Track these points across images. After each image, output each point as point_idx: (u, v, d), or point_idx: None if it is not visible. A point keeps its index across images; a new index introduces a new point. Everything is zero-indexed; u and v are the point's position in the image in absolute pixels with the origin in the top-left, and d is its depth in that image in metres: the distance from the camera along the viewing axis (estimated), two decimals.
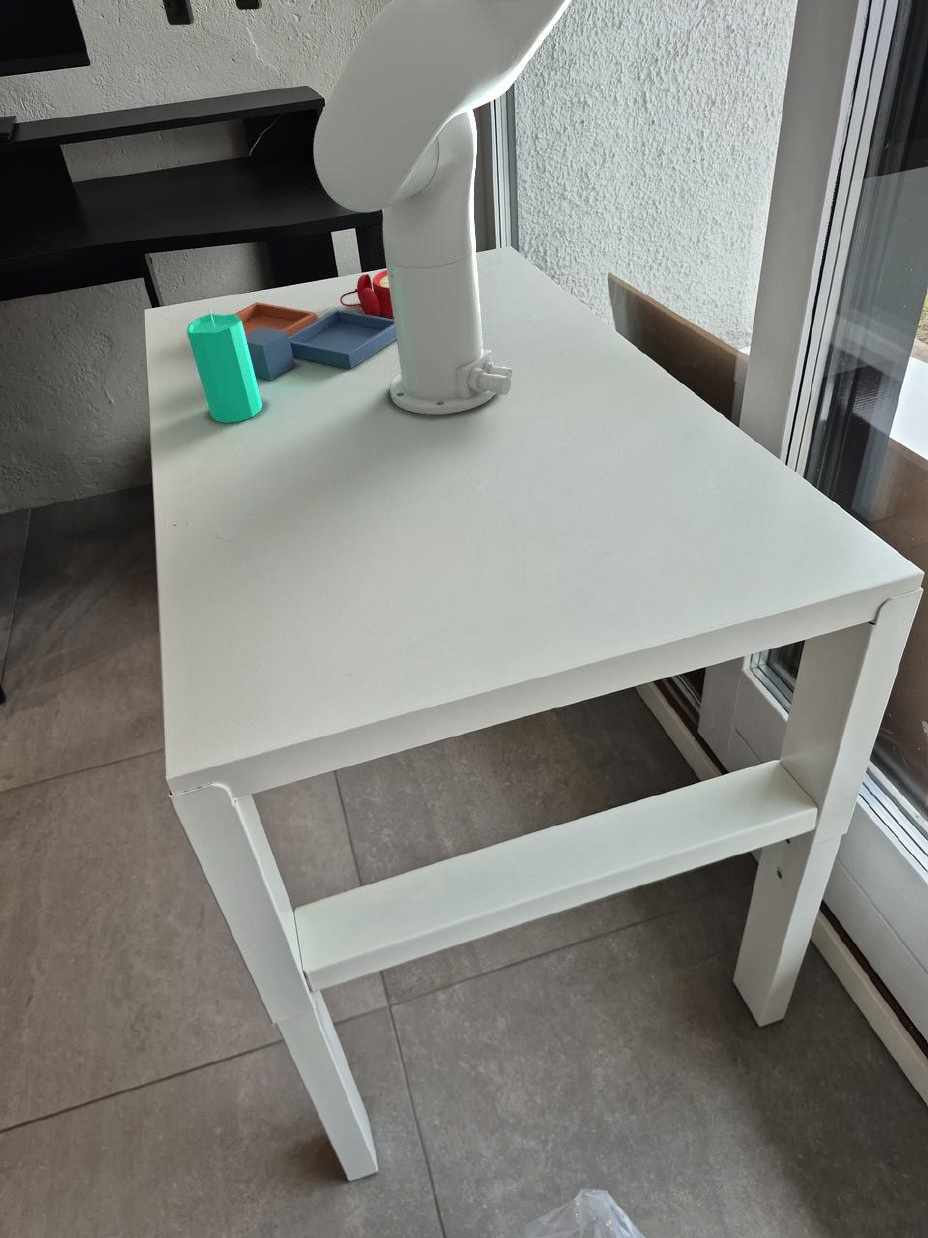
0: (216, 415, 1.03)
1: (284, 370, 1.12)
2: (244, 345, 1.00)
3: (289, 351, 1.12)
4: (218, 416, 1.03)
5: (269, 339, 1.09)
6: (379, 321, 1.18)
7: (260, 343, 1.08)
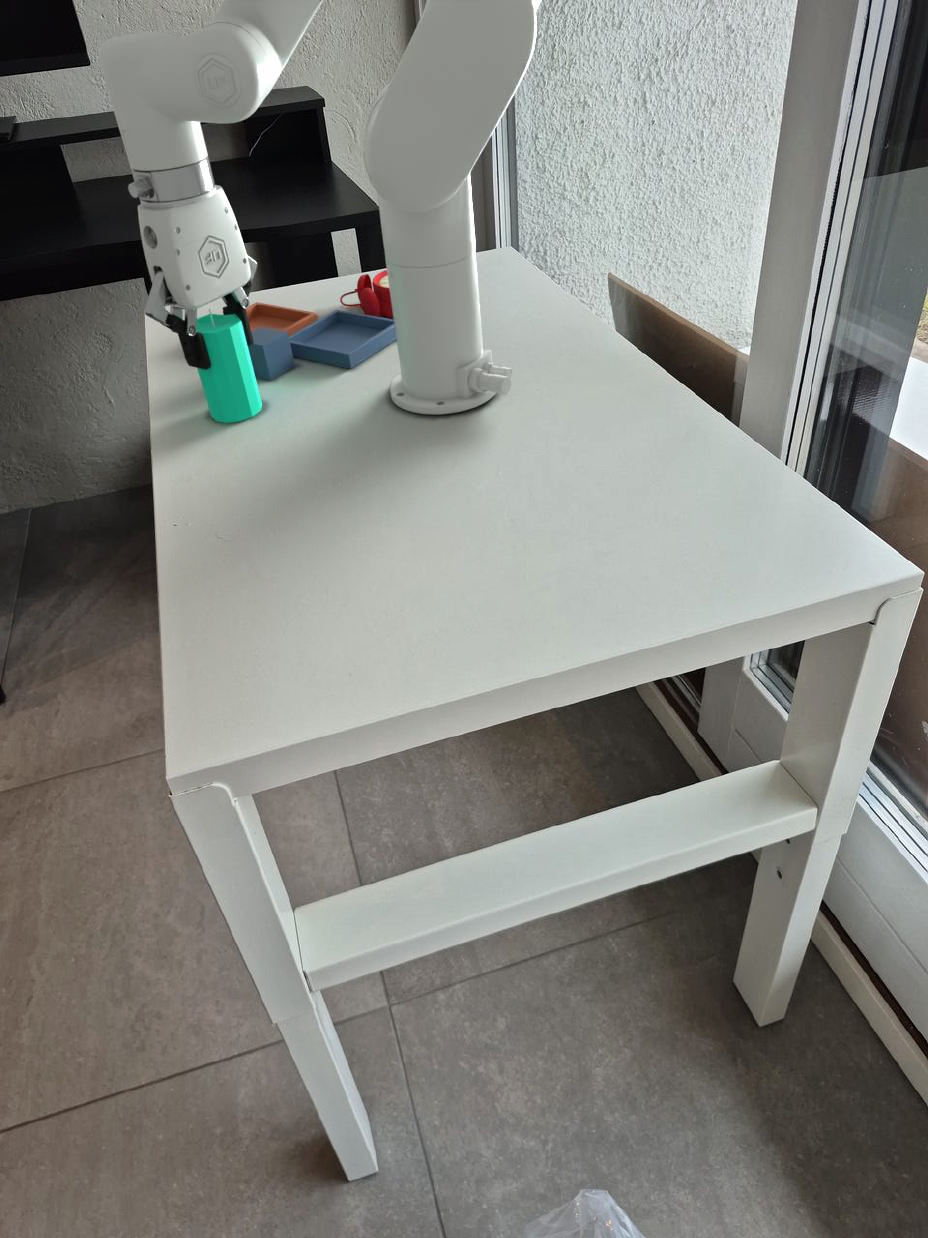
0: (216, 415, 1.03)
1: (284, 370, 1.12)
2: (244, 345, 1.00)
3: (289, 351, 1.12)
4: (218, 416, 1.03)
5: (269, 339, 1.09)
6: (379, 321, 1.18)
7: (260, 343, 1.08)
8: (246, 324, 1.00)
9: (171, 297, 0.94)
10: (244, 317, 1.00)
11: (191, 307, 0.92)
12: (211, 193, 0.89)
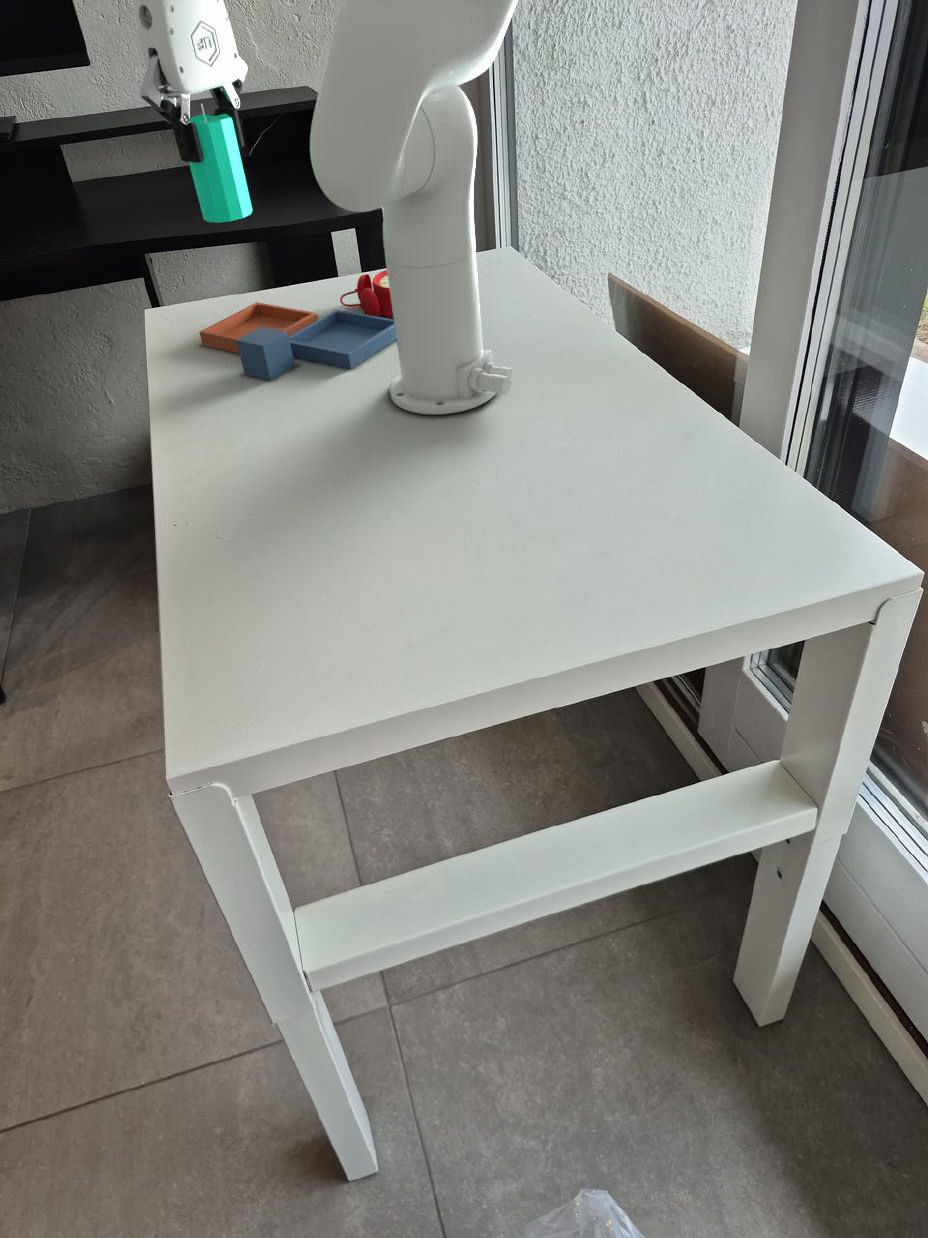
0: (208, 215, 1.08)
1: (284, 370, 1.12)
2: (234, 142, 1.05)
3: (289, 351, 1.12)
4: (210, 216, 1.08)
5: (269, 339, 1.09)
6: (379, 321, 1.18)
7: (260, 343, 1.08)
8: (237, 124, 1.05)
9: (165, 86, 0.99)
10: (235, 116, 1.05)
11: (184, 91, 0.97)
12: None
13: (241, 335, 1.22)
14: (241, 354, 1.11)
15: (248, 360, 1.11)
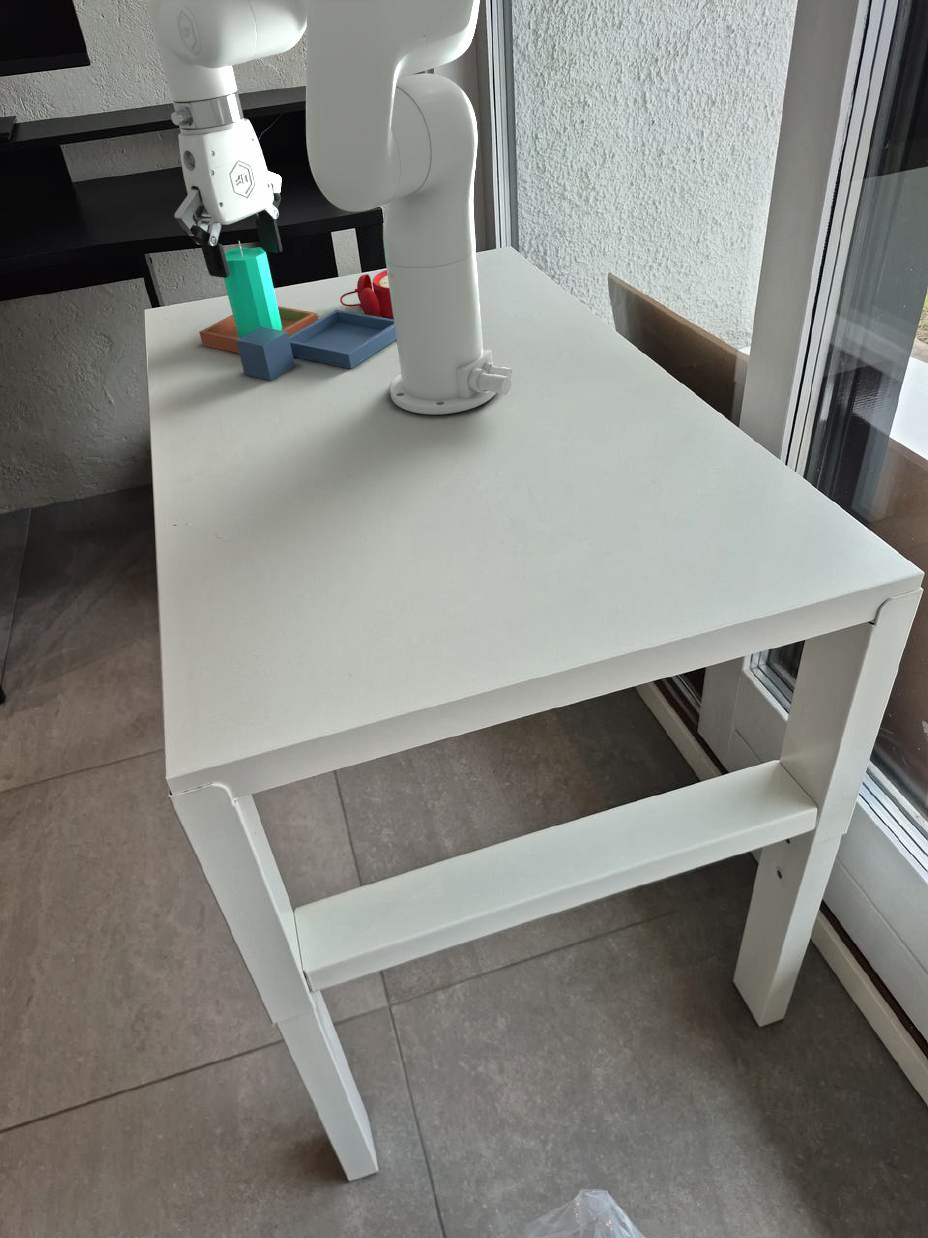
0: (243, 335, 1.20)
1: (284, 370, 1.12)
2: (268, 273, 1.17)
3: (289, 351, 1.12)
4: None
5: (269, 339, 1.09)
6: (379, 321, 1.18)
7: (260, 343, 1.08)
8: (276, 232, 1.16)
9: (206, 216, 1.10)
10: (274, 226, 1.16)
11: (223, 222, 1.08)
12: (240, 122, 1.05)
13: None
14: (241, 354, 1.11)
15: (248, 360, 1.11)
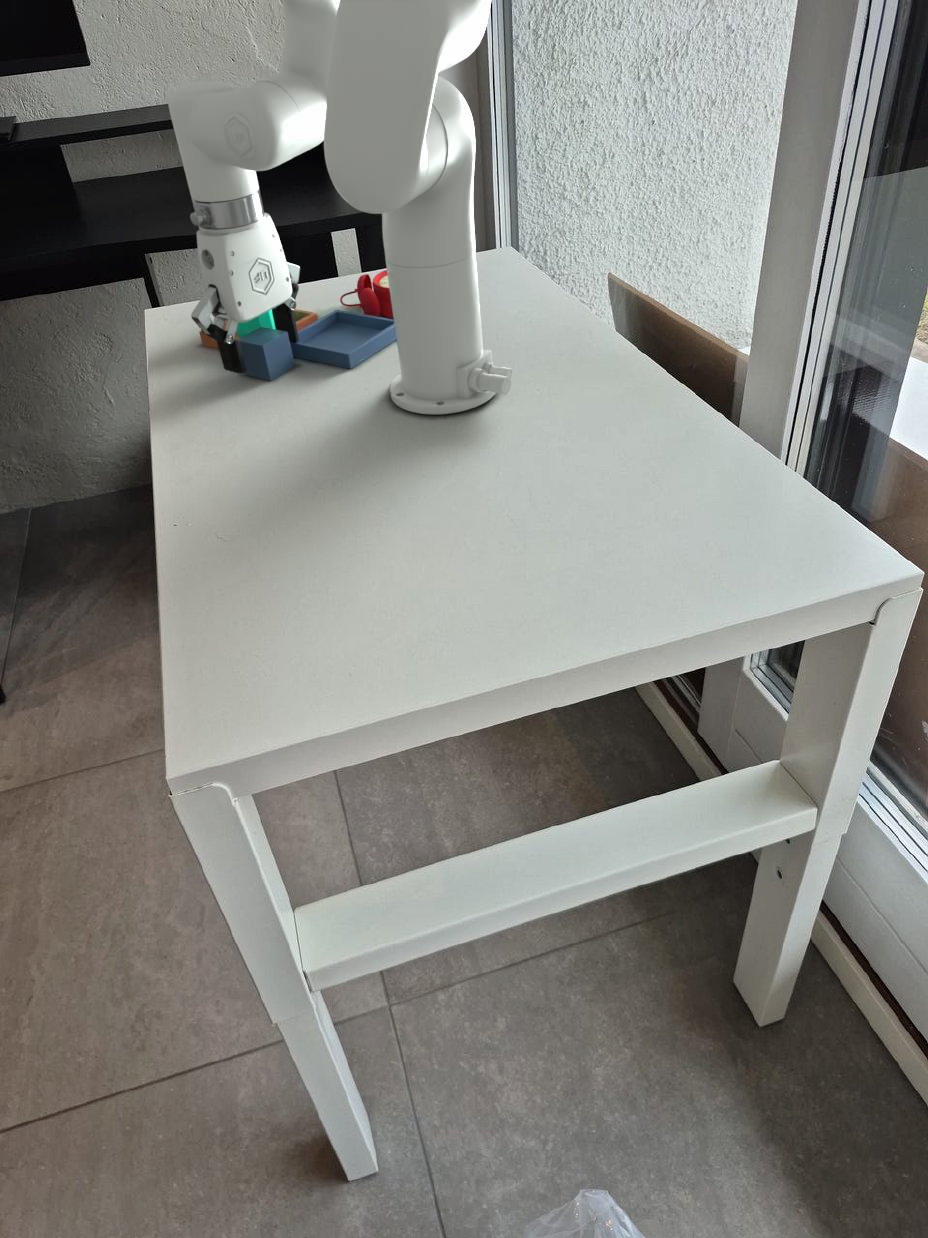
0: (243, 335, 1.20)
1: (284, 370, 1.12)
2: None
3: (289, 351, 1.12)
4: None
5: (269, 339, 1.09)
6: (379, 321, 1.18)
7: (260, 343, 1.08)
8: (293, 324, 1.13)
9: (222, 311, 1.06)
10: (291, 318, 1.12)
11: (241, 321, 1.04)
12: (261, 221, 1.01)
13: None
14: None
15: (248, 360, 1.11)
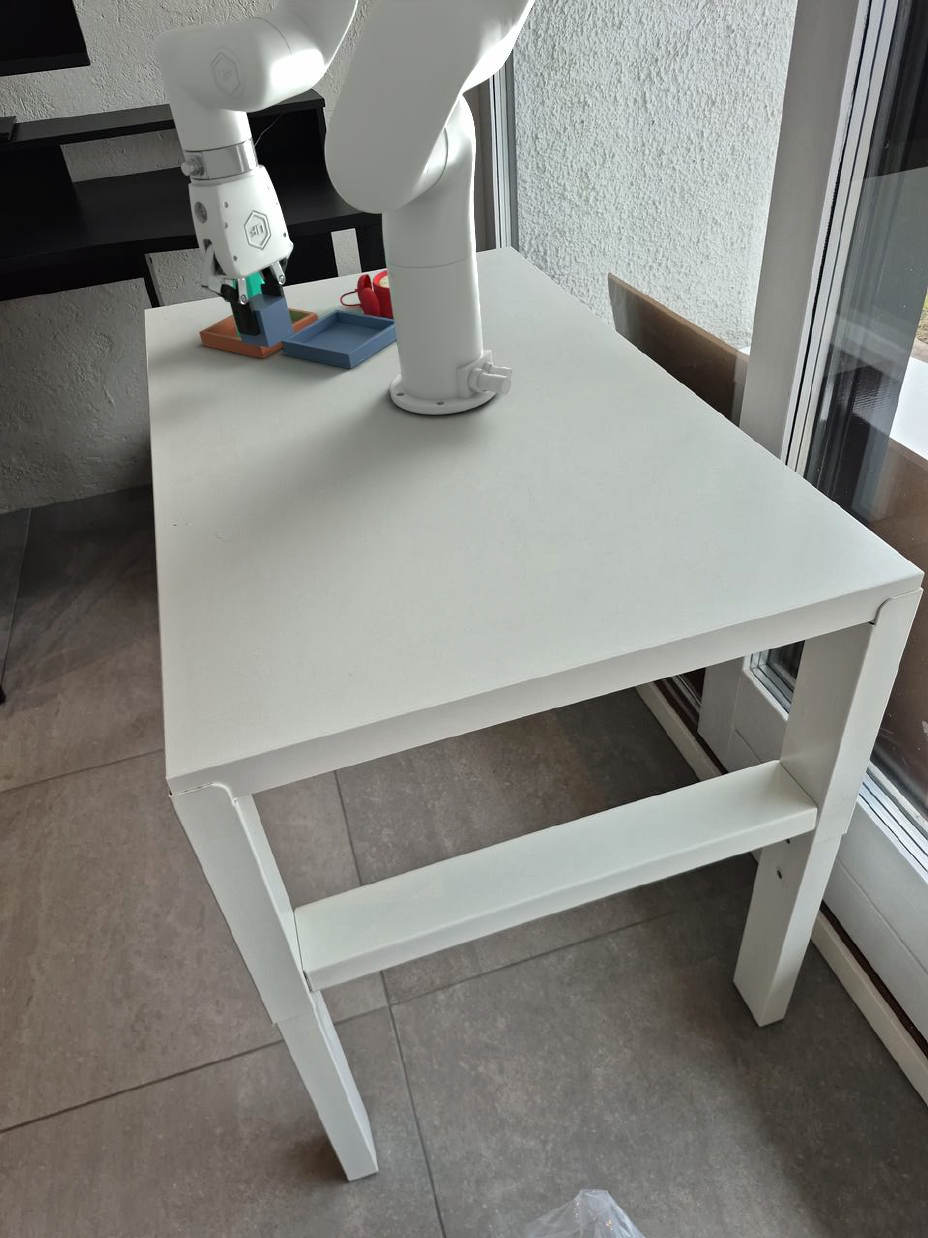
0: None
1: (283, 337, 1.09)
2: None
3: (287, 317, 1.09)
4: None
5: (266, 305, 1.06)
6: (379, 321, 1.18)
7: (258, 308, 1.05)
8: None
9: (219, 269, 1.03)
10: (280, 292, 1.08)
11: (238, 276, 1.01)
12: (255, 170, 0.97)
13: None
14: None
15: None
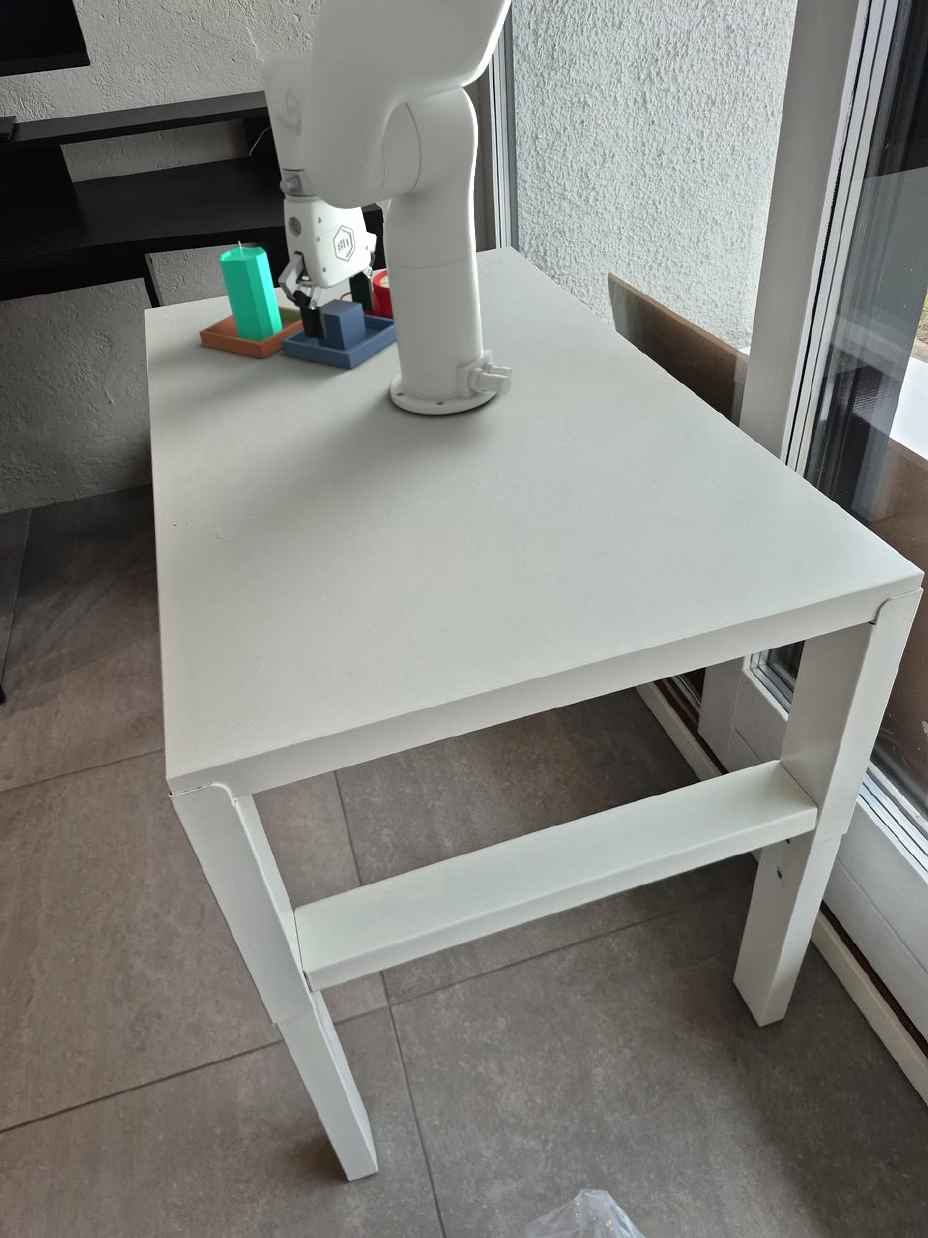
0: (243, 335, 1.20)
1: (357, 341, 1.16)
2: (268, 273, 1.17)
3: (362, 322, 1.16)
4: (245, 336, 1.20)
5: (344, 310, 1.13)
6: (379, 321, 1.18)
7: (337, 314, 1.13)
8: (370, 292, 1.16)
9: (305, 278, 1.10)
10: (368, 286, 1.16)
11: (325, 287, 1.08)
12: None
13: None
14: None
15: None
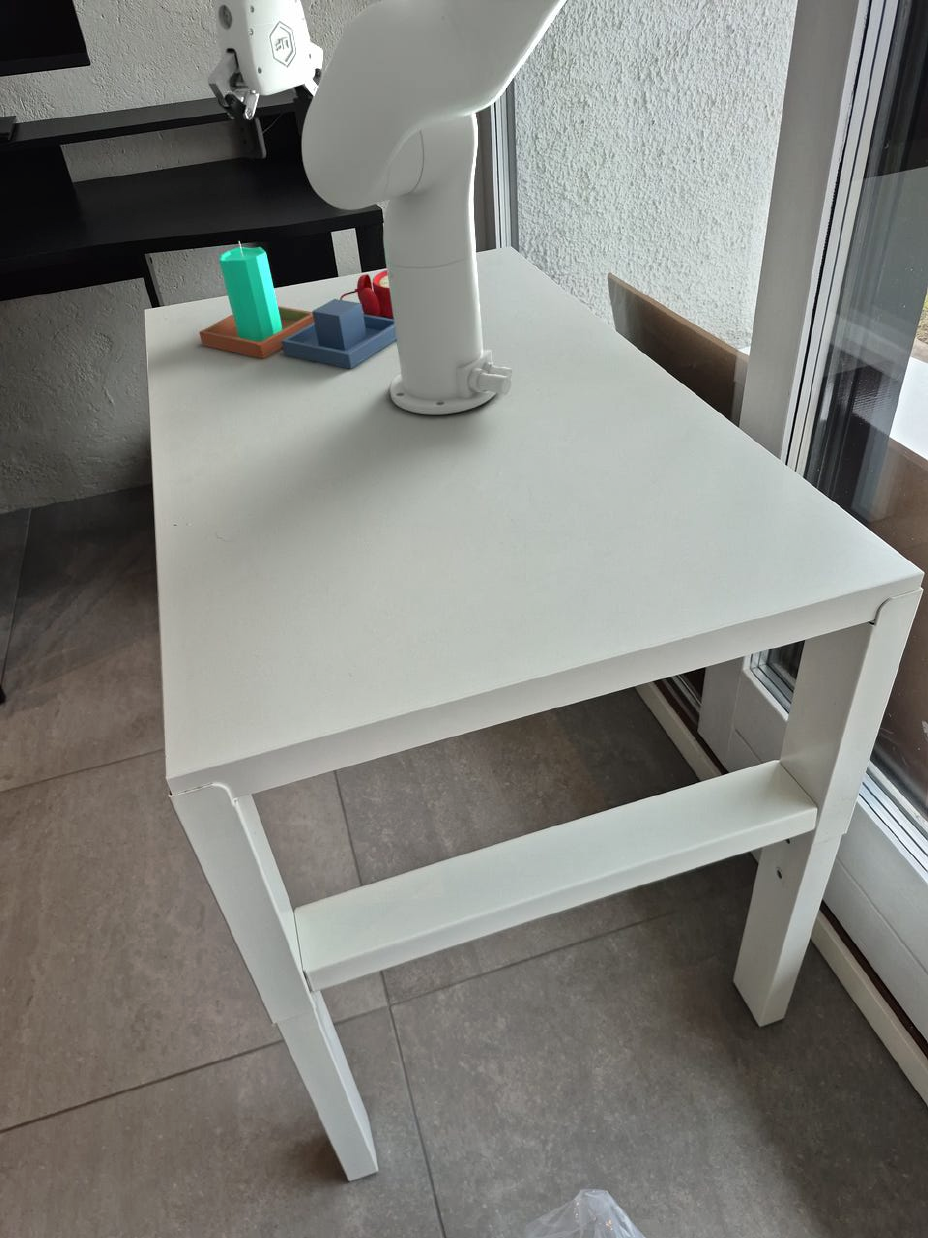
0: (243, 335, 1.20)
1: (357, 341, 1.16)
2: (268, 273, 1.17)
3: (362, 322, 1.16)
4: (245, 336, 1.20)
5: (344, 310, 1.13)
6: (379, 321, 1.18)
7: (337, 314, 1.13)
8: None
9: None
10: None
11: (261, 92, 0.97)
12: None
13: None
14: (316, 325, 1.15)
15: (323, 331, 1.15)
